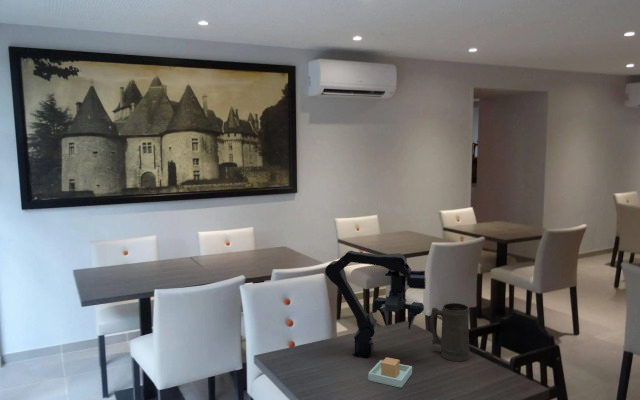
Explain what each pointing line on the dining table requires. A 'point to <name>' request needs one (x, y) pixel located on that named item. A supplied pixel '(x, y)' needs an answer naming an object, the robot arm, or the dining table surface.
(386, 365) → the orange cube
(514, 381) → the dining table surface
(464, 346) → the beer stein
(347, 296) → the robot arm
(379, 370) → the sage tray
